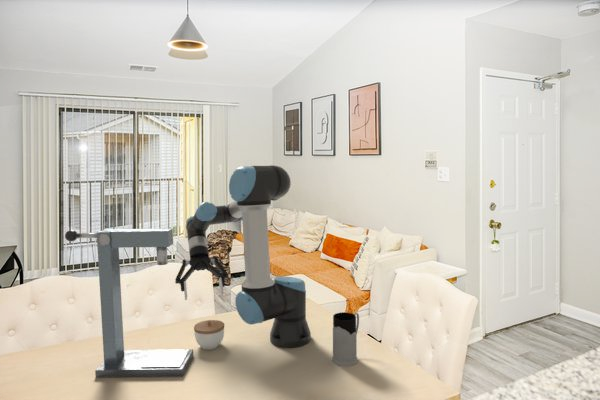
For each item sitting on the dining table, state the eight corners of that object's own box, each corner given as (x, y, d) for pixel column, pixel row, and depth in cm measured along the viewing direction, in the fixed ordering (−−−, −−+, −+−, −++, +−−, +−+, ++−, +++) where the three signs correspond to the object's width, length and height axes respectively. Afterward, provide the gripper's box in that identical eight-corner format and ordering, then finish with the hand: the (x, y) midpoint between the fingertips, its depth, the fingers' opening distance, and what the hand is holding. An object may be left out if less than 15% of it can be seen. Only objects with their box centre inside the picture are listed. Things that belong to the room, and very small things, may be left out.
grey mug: (326, 361, 143) (326, 317, 142) (347, 346, 155) (347, 305, 153) (350, 368, 138) (350, 323, 137) (369, 352, 150) (369, 310, 148)
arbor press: (193, 356, 148) (188, 225, 144) (182, 376, 134) (176, 232, 130) (84, 357, 148) (76, 226, 144) (62, 377, 134) (52, 234, 130)
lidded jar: (218, 353, 150) (217, 327, 149) (189, 351, 152) (188, 325, 151) (229, 340, 160) (228, 316, 160) (202, 338, 163) (201, 314, 162)
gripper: (227, 252, 185) (235, 296, 172) (166, 257, 176) (170, 304, 164) (229, 242, 179) (238, 287, 167) (166, 246, 171) (170, 295, 158)
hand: (204, 296), depth 165 cm, fingers open, 13 cm apart
